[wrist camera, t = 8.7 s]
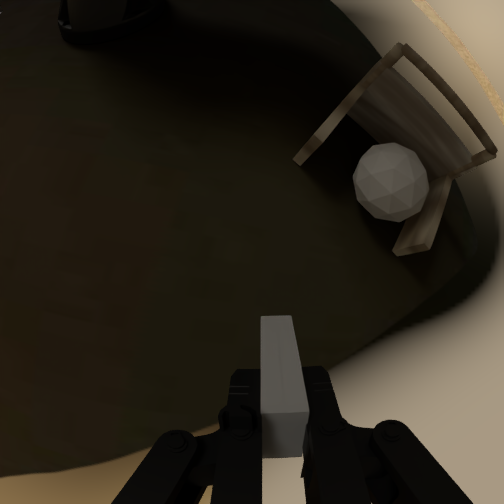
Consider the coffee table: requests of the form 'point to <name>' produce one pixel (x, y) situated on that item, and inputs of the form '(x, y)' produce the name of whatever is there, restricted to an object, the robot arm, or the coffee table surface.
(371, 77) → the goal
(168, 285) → the coffee table surface
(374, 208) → the geometric ball
